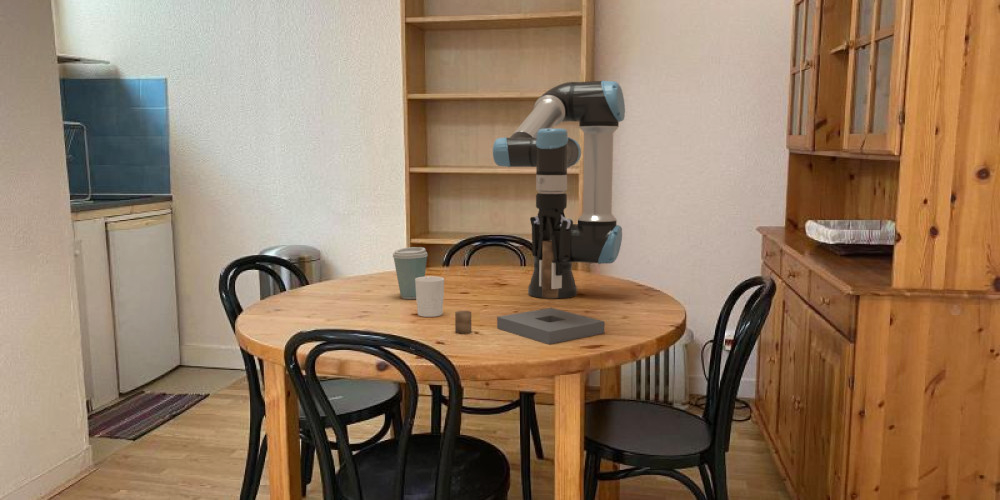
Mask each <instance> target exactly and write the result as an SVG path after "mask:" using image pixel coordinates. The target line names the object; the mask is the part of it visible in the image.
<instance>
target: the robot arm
mask: <svg viewBox="0 0 1000 500" xmlns="http://www.w3.org/2000/svg"><path fill="white" fill-rule="evenodd" d="M625 107H626V105H625V97H624V93H623V90H622V87H621V85H620V84H619V83H618V82H617V81H612V80H610V81H609V80H594V81H568V82H564V83H560V84H558V85H556V86H554V87H552V88H550V89H548V90H547V91H545V92H544V93H543V94H542V95H541V96H539V98H537V100H536V101H535V103H534V105H533V110H532V111H531V112H530V113H529V114H528V115H527V116H526V118H525V119H524V121H522V123H521V124H520V125H519V127H517V128H516V130H515V131H514V132H513V133H512V135H511V136H510V137H507V136H505V137H498V138H496V139H495V140H494V142H493V146H492V157H493V161H494V163H495V165H497V166H498V167H505V168H506V167H507V168H536V169H535V171H536V172H535V173H536V175H535V178H536V179H535V183H536V185H535V187H536V188H535V190H536V191H537V192H538V193H536V194H535V208H537V209H538V213H537V215H536V216H531V217H530V218H529V220H530V224H531V242H532V243H531V245H532V247H531V250H532V251H531V252H532V253H531V254H532V257H533V271H532V275H531V278H530V282H529V285H528V289H527V291H528V293H527V294H528V295H529V296H531V297H535V298H541V299H543V298H542V256H543V241H546V240H552V247H553V255H554V261H552V279H551V289H558V298H557V299H567V298H568V299H569V298H573V297H576V296H577V295H578V287H577V284H576V280H575V277H574V273H573V270H572V263H585V264H586V263H587V264H598V265H601V264H606V265H607V264H612V263H615V261H616V260H617V258H618V257H619V253H620V250H621V247H622V246H621V245H622V239H623V227H622V226H621V225H619V224H617V218H616V217H615V216H614V214H613V213H612V211H613V210H612V207H613V205H612V204H613V161H614V159H613V158H614V157H613V156H614V153H613V152H614V134H615V132H616V131H617V130H618V129H619V125H620V124H619V123H620V122H623V121H624V120H625V114H626V108H625ZM564 122H565V123H566V122H579V123H578V128H579V129H580V130H581V131H582V132H583V191H582V192H583V194H582V198H583V199H582V214H581V215H580V216H579V217H577V224H575V223H574V221H573V219H572V218H567V217H566V216H565V215H566V214H565V209H566V208H567V206H568V205H567V203H568V199H567V198H568V196H567V195H568V194H566V192H567V191H568V168H570V167H573V166H574V165H576V164H577V163H578V162H579V161H580V158H581V156H582V149H581V146H580V144H579V143H578V141H576V140H575V139H573V138H571V137H568V131H567V129H566V128H554V127H557V126H558V125H559V124H561V123H564Z"/></svg>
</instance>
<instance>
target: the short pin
mask: <svg viewBox="0 0 1000 500" xmlns="http://www.w3.org/2000/svg"><path fill="white" fill-rule="evenodd" d="M454 313H455V314H454V315H455V317H454V318H455V319H454V322H455V324H454V325H455V326H454V327H455V328H454V331H455V333H456V334H459V335H469V334H471V333H472V311H470V310H457V311H455V312H454Z"/></svg>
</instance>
